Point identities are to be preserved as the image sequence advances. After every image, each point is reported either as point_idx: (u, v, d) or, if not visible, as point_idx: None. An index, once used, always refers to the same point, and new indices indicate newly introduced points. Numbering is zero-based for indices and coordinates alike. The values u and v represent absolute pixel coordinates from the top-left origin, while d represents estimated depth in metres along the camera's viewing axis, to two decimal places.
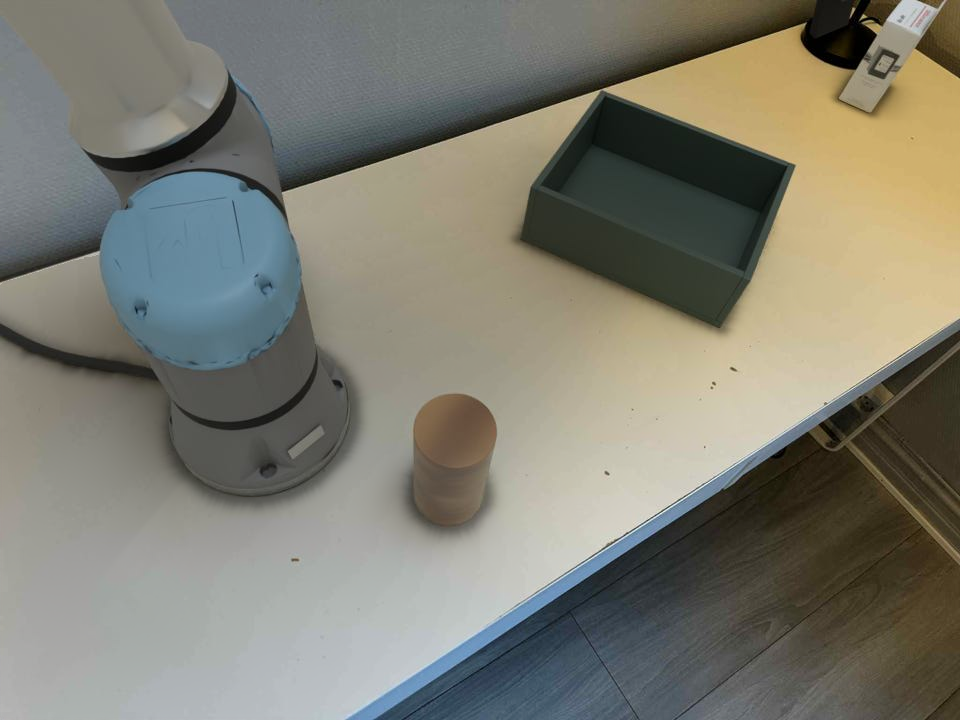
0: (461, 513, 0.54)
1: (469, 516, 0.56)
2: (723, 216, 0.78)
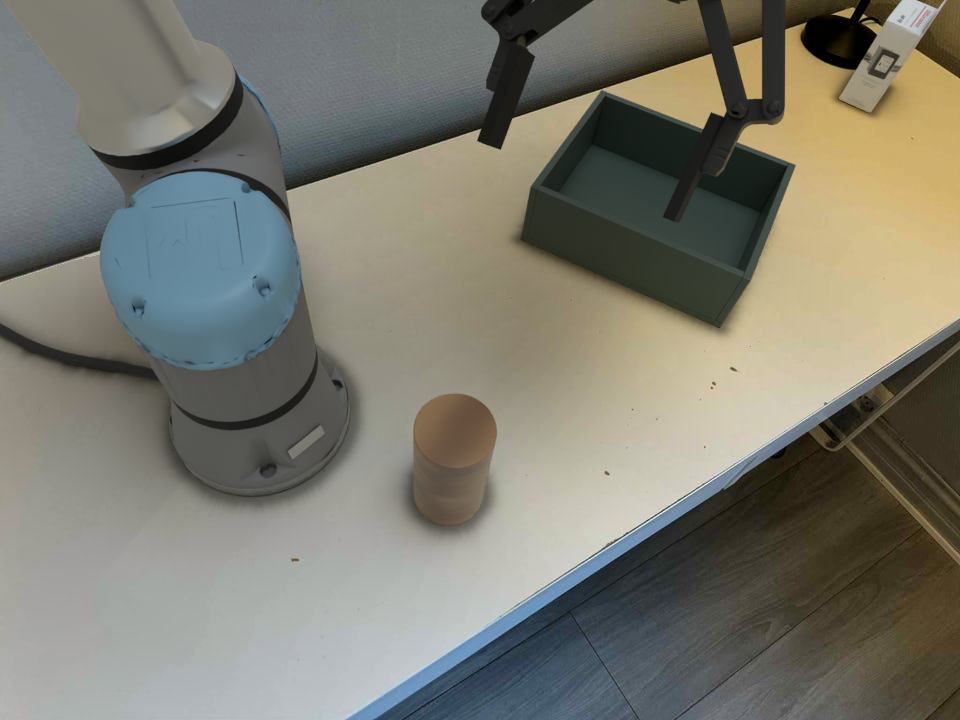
0: (461, 513, 0.54)
1: (469, 516, 0.56)
2: (723, 216, 0.78)
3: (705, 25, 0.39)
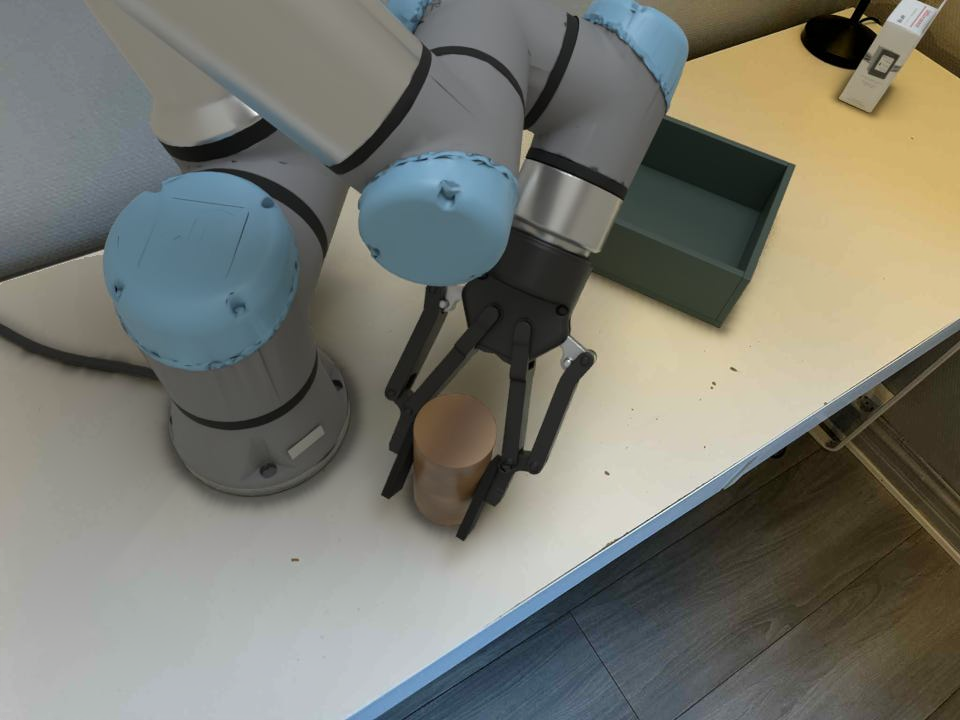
0: (461, 513, 0.54)
1: None
2: (723, 216, 0.78)
3: (509, 393, 0.48)
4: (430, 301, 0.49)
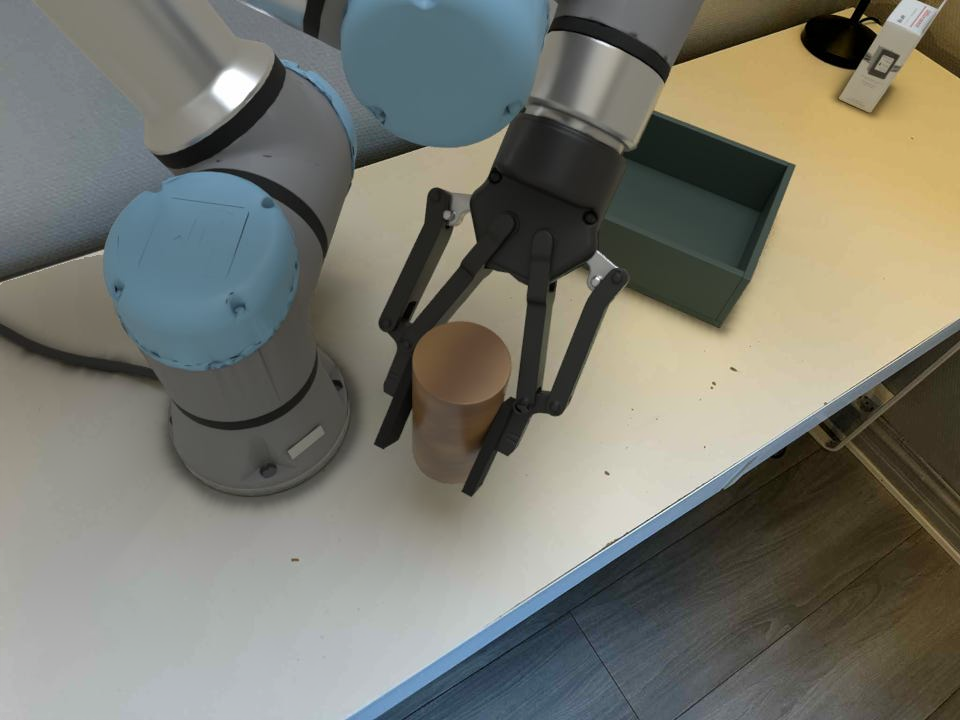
0: (467, 467, 0.46)
1: None
2: (723, 216, 0.78)
3: (526, 320, 0.41)
4: (432, 211, 0.41)
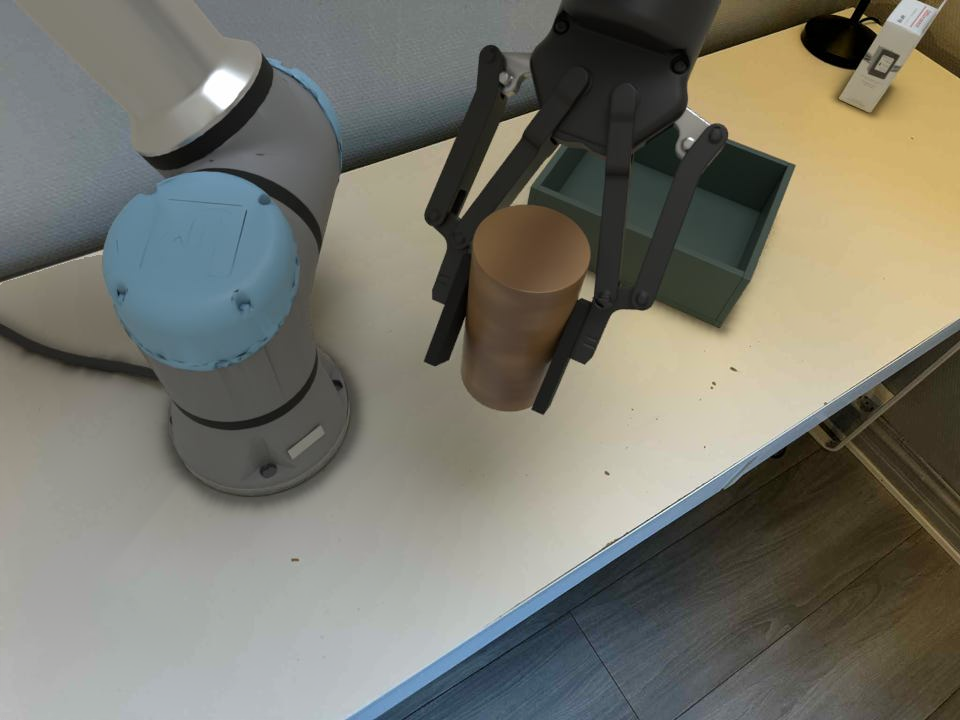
0: (530, 388, 0.40)
1: None
2: (723, 216, 0.78)
3: (604, 196, 0.34)
4: (486, 75, 0.35)
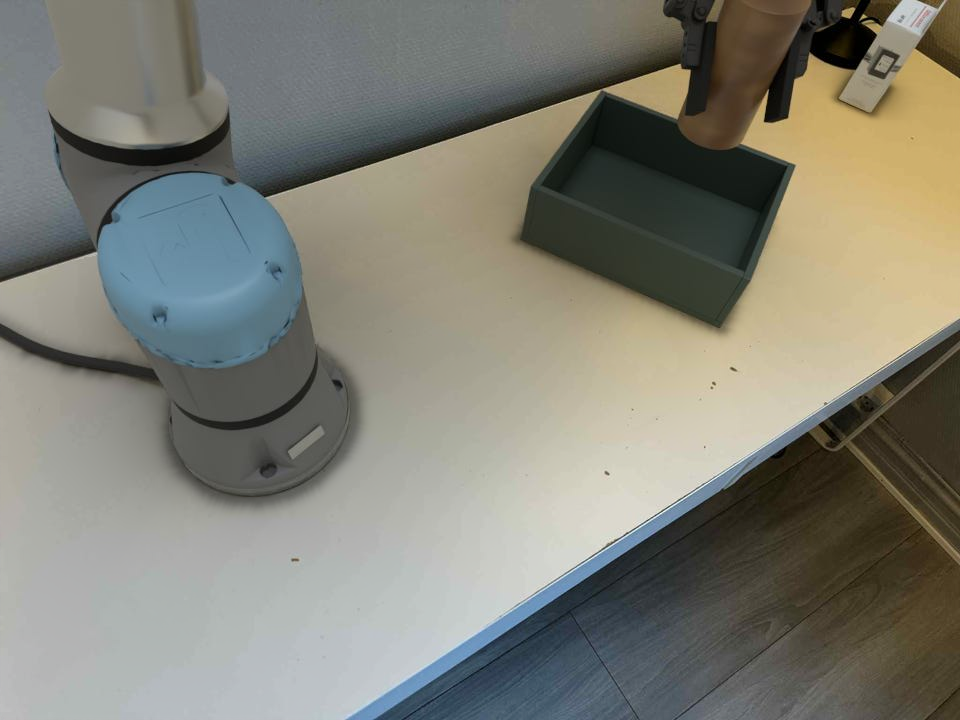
0: (752, 118, 0.56)
1: None
2: (723, 216, 0.78)
3: None
4: None
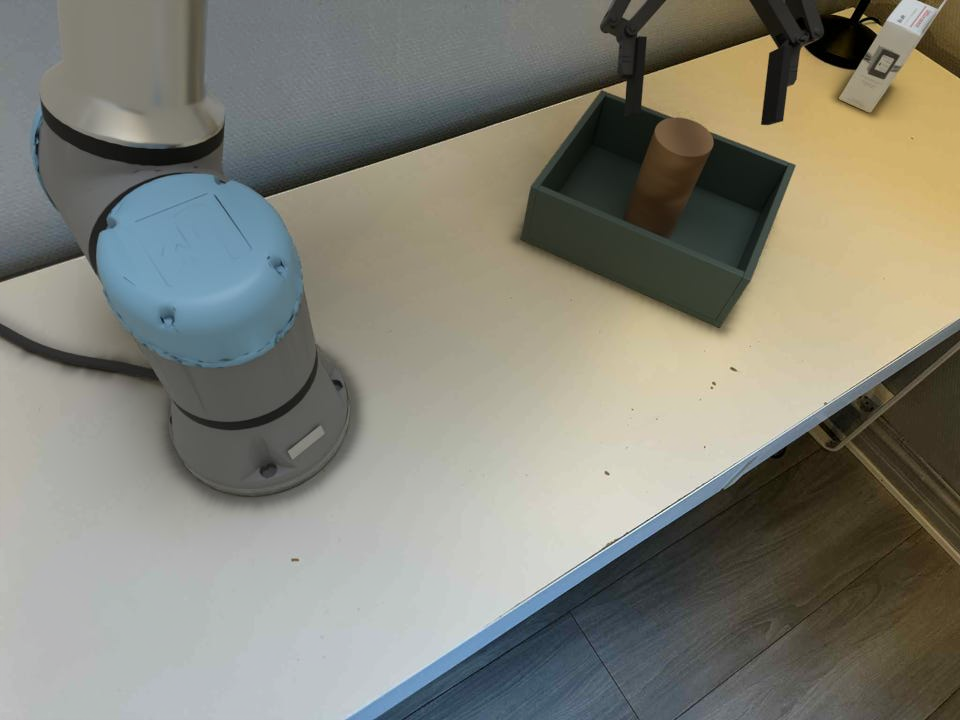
0: (678, 218, 0.73)
1: (676, 225, 0.75)
2: (723, 216, 0.78)
3: None
4: None
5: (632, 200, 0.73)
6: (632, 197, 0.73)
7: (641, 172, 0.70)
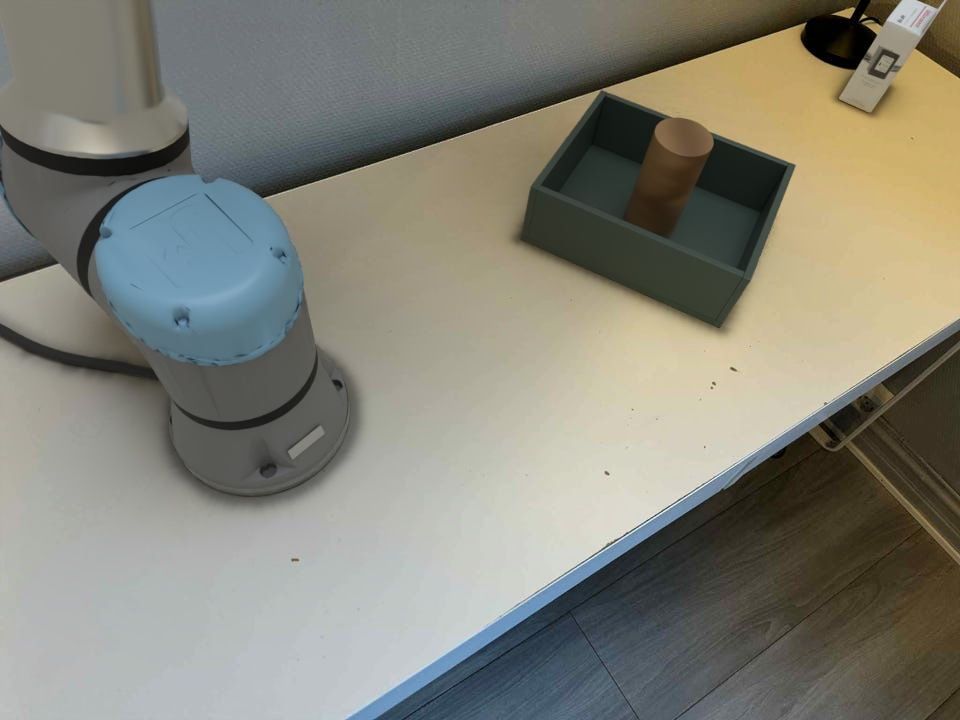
0: (678, 218, 0.73)
1: (676, 225, 0.75)
2: (723, 216, 0.78)
3: None
4: None
5: (632, 200, 0.73)
6: (632, 197, 0.73)
7: (641, 172, 0.70)
